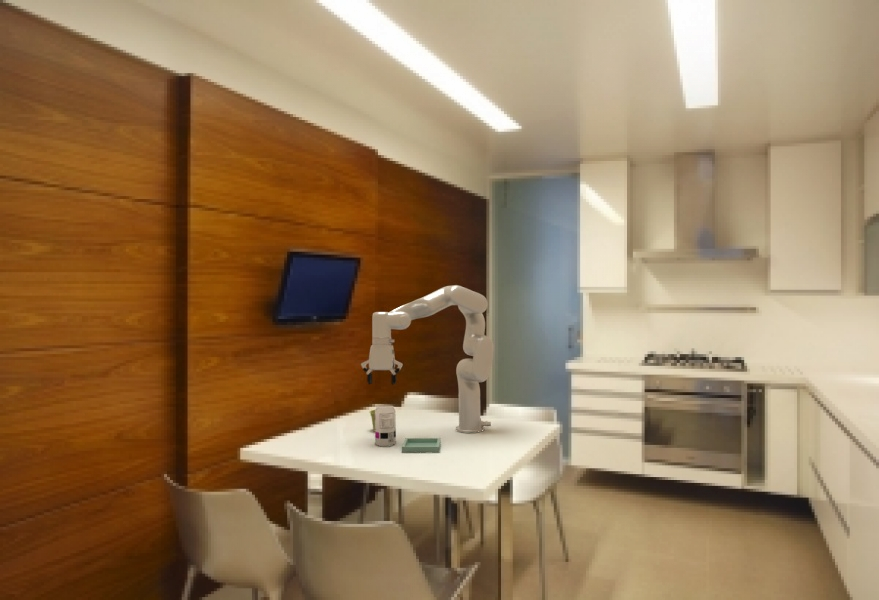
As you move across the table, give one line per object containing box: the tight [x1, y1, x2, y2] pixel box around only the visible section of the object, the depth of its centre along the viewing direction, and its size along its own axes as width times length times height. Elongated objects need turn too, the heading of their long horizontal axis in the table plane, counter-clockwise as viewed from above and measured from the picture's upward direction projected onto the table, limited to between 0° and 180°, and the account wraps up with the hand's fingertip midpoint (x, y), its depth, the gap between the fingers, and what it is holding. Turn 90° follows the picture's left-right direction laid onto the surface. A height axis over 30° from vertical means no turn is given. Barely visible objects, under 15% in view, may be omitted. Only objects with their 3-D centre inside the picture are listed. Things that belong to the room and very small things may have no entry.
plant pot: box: [369, 409, 375, 432], centre depth 241 cm, size 9×9×9 cm
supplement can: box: [374, 404, 397, 447], centre depth 216 cm, size 8×8×15 cm
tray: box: [401, 437, 441, 454], centre depth 209 cm, size 14×14×2 cm
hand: (381, 384), depth 220 cm, fingers open, 9 cm apart
